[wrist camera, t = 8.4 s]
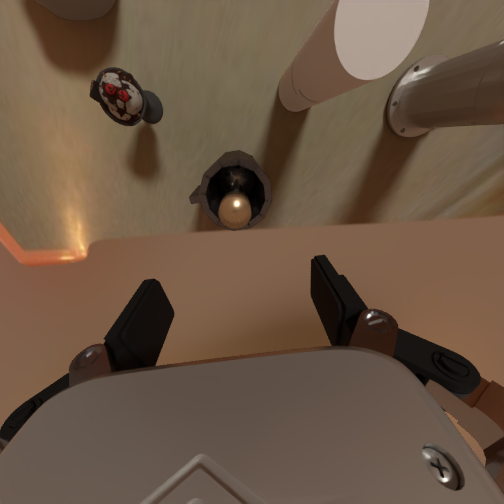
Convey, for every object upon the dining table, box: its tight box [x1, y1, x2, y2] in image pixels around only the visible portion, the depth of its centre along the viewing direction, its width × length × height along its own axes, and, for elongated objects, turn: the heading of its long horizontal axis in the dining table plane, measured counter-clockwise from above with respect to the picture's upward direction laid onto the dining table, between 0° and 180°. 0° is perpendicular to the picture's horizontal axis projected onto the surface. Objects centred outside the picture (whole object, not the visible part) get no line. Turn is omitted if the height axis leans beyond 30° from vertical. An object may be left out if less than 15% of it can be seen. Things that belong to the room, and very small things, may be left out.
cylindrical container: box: [278, 0, 429, 112], centre depth 26 cm, size 7×7×25 cm
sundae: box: [90, 67, 163, 126], centre depth 30 cm, size 7×7×15 cm
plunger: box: [218, 165, 255, 229], centre depth 33 cm, size 8×8×21 cm
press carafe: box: [189, 150, 272, 231], centre depth 37 cm, size 13×11×16 cm
